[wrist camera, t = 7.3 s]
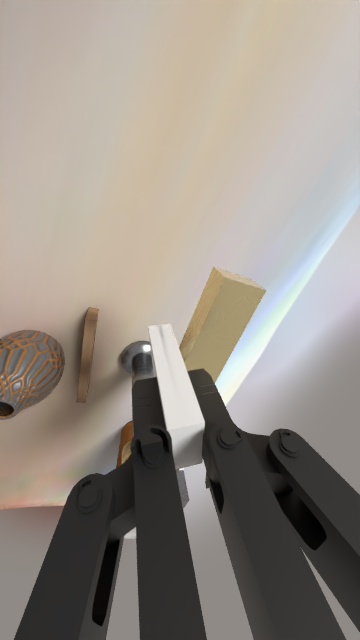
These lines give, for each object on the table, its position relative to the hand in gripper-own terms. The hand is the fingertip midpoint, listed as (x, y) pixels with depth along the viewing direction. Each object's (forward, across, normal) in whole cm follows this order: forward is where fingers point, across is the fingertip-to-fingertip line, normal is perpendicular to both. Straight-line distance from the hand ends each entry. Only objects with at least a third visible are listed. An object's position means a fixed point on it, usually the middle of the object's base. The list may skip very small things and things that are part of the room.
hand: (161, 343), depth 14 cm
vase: (+13, -13, -7) cm, 20 cm away
